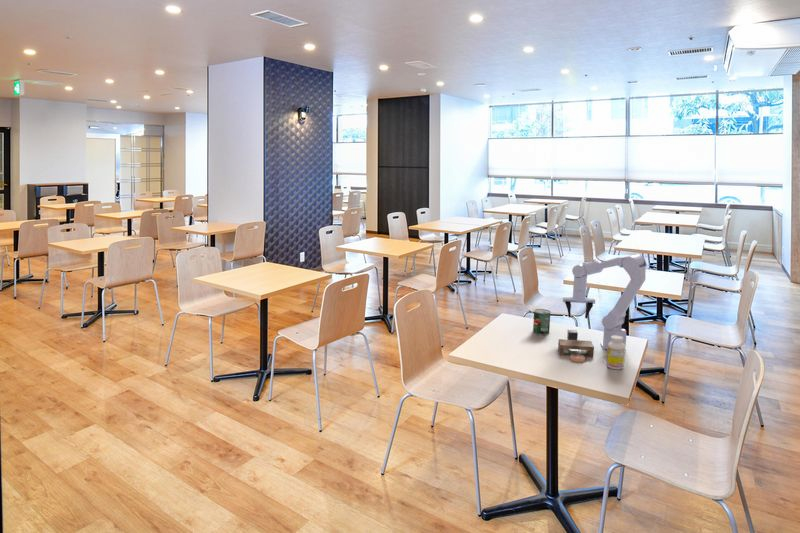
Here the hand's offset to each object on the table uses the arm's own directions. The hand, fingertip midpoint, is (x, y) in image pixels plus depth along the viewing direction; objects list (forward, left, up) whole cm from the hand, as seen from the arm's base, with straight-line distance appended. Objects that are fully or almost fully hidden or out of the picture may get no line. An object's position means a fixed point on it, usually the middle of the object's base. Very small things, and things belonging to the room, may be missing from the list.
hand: (577, 317), depth 259 cm
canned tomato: (+16, -6, -11) cm, 20 cm away
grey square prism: (+3, +15, -10) cm, 18 cm away
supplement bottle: (-11, +35, -11) cm, 38 cm away
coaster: (+3, +30, -11) cm, 32 cm away
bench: (+3, +21, -10) cm, 24 cm away
